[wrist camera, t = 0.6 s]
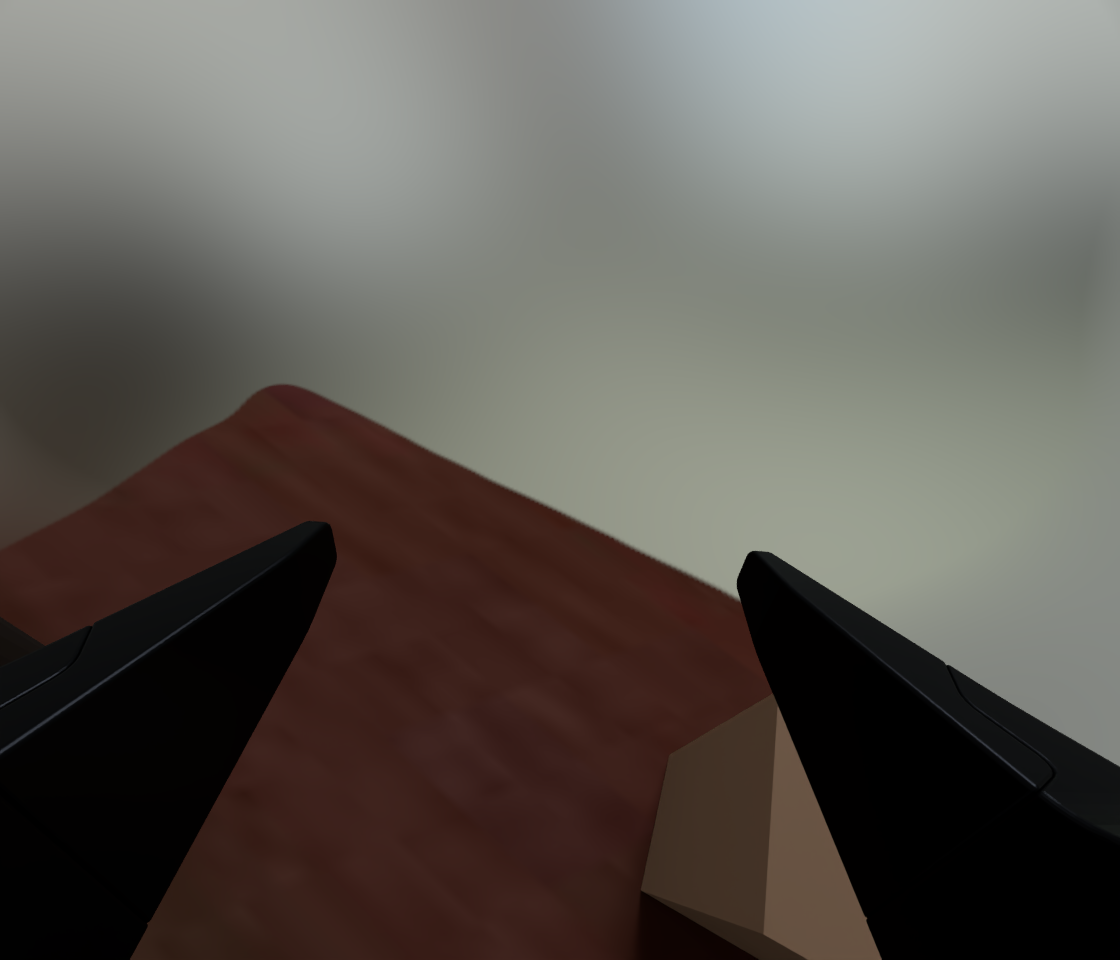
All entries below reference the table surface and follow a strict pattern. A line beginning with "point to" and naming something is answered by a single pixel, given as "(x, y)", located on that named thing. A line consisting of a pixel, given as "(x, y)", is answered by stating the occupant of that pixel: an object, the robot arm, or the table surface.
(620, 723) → the table surface
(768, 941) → the tan block
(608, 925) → the table surface
